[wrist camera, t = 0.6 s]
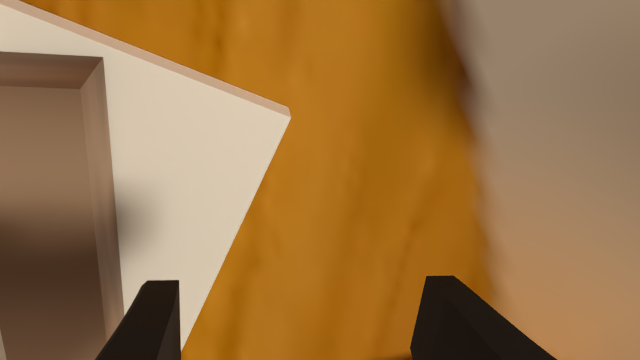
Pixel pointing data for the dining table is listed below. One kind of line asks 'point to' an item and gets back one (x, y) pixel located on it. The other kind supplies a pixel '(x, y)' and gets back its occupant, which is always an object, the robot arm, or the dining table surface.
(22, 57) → the leg
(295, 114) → the dining table surface
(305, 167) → the dining table surface
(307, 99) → the dining table surface
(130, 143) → the seat board
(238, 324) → the dining table surface
